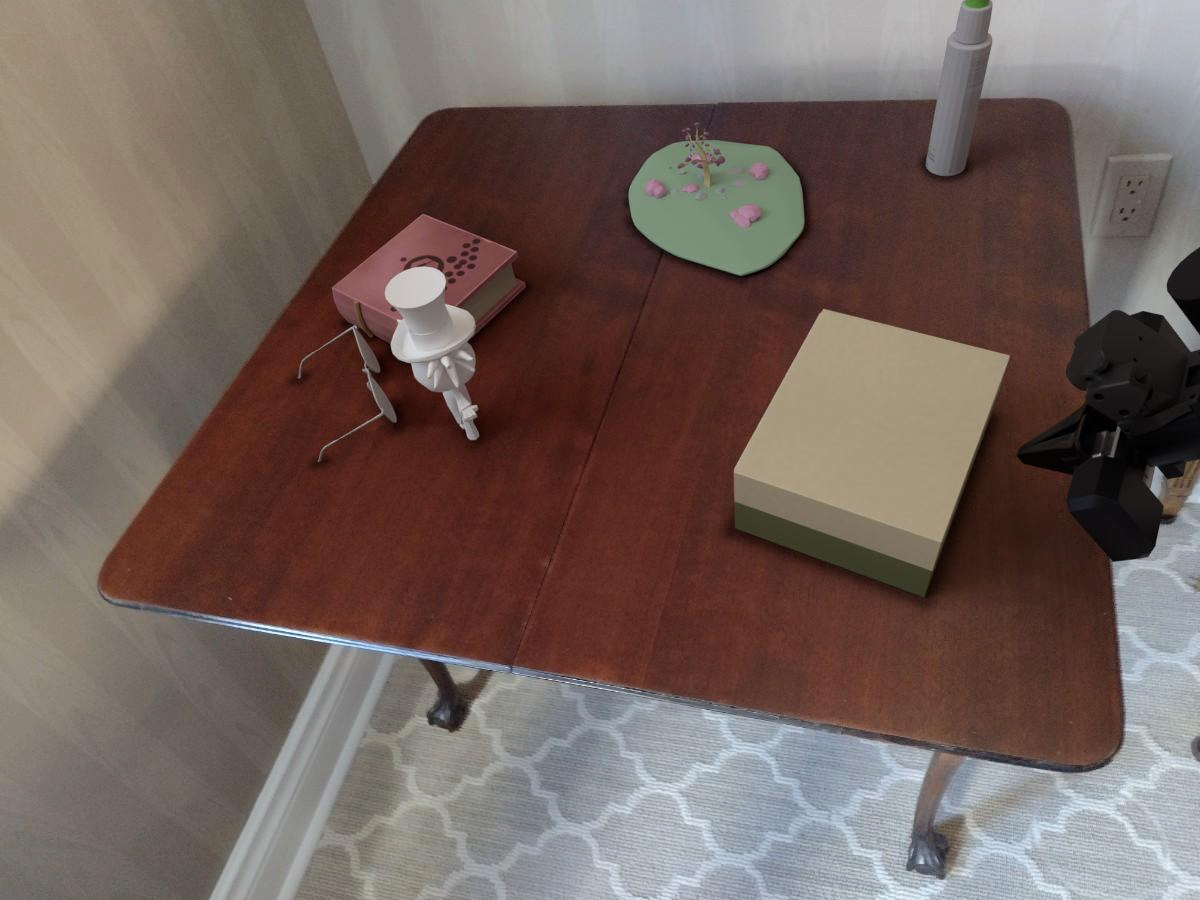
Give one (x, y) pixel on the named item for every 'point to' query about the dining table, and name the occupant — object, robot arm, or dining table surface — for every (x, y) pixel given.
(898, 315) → the dining table surface
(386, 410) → the sunglasses
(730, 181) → the green garden diorama
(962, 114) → the bottle
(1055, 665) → the dining table surface
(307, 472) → the dining table surface
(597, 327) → the dining table surface
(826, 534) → the beige lidded box
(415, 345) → the figurine
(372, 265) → the book
